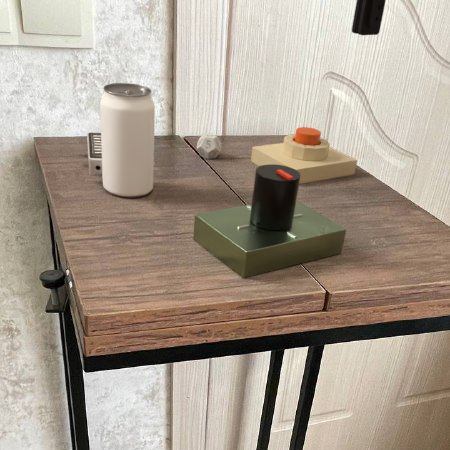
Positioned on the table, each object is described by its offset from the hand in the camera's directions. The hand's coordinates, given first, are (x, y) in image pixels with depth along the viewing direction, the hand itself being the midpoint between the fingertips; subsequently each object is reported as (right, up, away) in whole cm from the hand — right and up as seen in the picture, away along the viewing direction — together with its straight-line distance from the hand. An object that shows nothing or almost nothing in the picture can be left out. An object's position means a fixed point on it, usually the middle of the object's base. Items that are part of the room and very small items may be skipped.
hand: (365, 33), depth 77 cm
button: (-5, -8, +14) cm, 17 cm away
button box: (-6, -11, +17) cm, 20 cm away
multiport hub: (-34, -12, +11) cm, 38 cm away
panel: (-12, -28, -5) cm, 31 cm away
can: (-30, -18, +4) cm, 35 cm away
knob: (-12, -25, -7) cm, 29 cm away
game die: (-20, -9, +17) cm, 27 cm away
